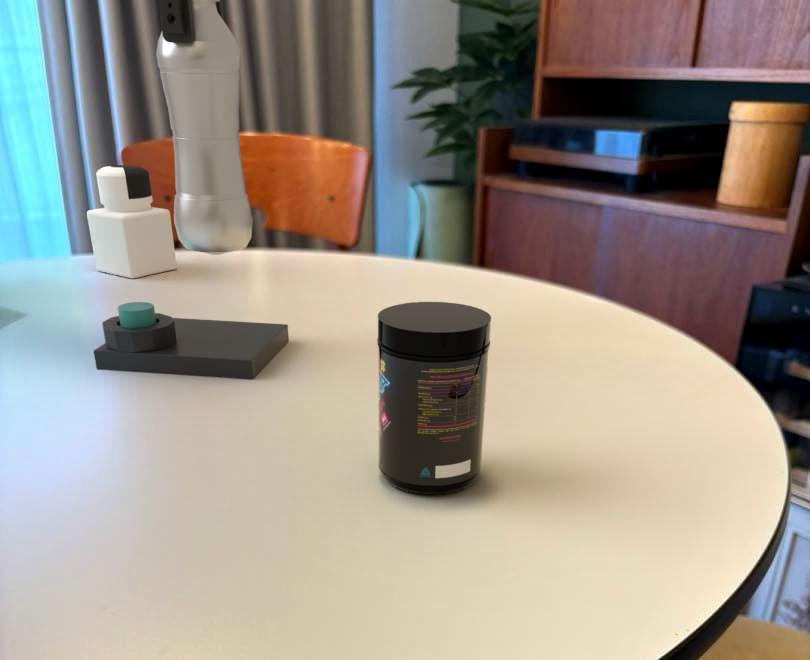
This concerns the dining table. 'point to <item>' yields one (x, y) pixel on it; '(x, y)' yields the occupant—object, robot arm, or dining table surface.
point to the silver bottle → (206, 135)
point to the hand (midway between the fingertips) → (195, 42)
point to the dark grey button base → (191, 347)
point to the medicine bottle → (130, 225)
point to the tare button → (137, 314)
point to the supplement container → (432, 395)
